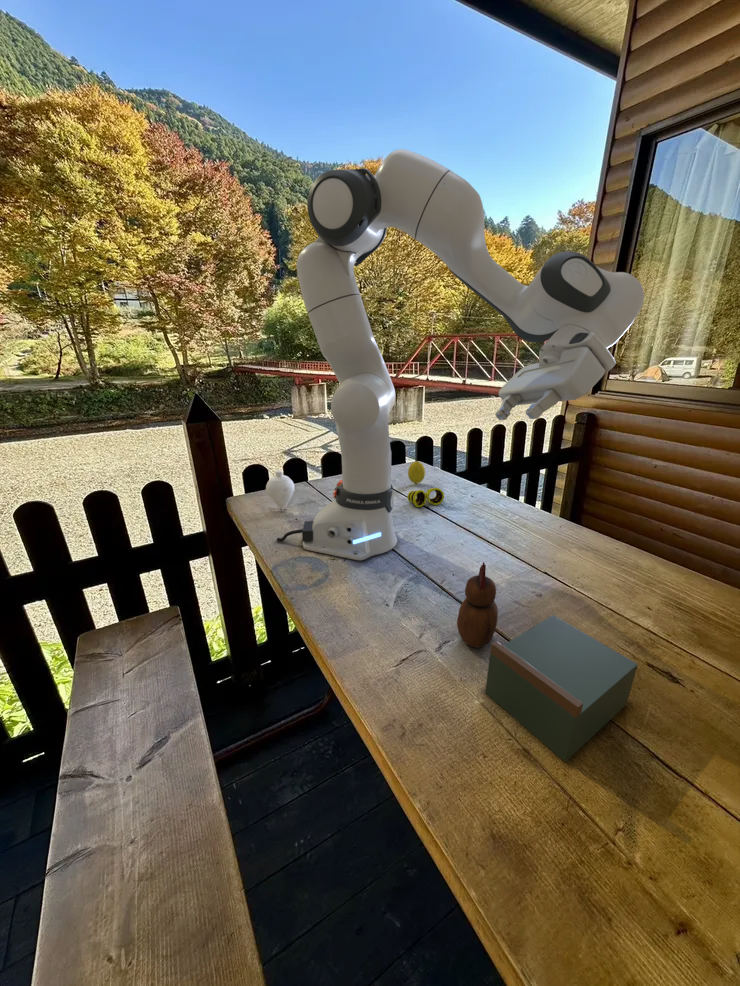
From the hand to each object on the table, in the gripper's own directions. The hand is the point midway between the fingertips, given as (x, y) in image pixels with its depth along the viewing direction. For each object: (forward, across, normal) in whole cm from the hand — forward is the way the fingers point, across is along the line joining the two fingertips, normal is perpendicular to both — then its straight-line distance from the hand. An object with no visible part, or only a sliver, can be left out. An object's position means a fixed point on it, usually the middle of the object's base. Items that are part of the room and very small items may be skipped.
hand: (513, 416), depth 69 cm
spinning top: (+45, -52, -10) cm, 70 cm away
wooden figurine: (+32, +7, +18) cm, 38 cm away
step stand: (+30, +20, +24) cm, 43 cm away
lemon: (+11, -64, +18) cm, 67 cm away
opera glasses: (+16, -48, +18) cm, 54 cm away
